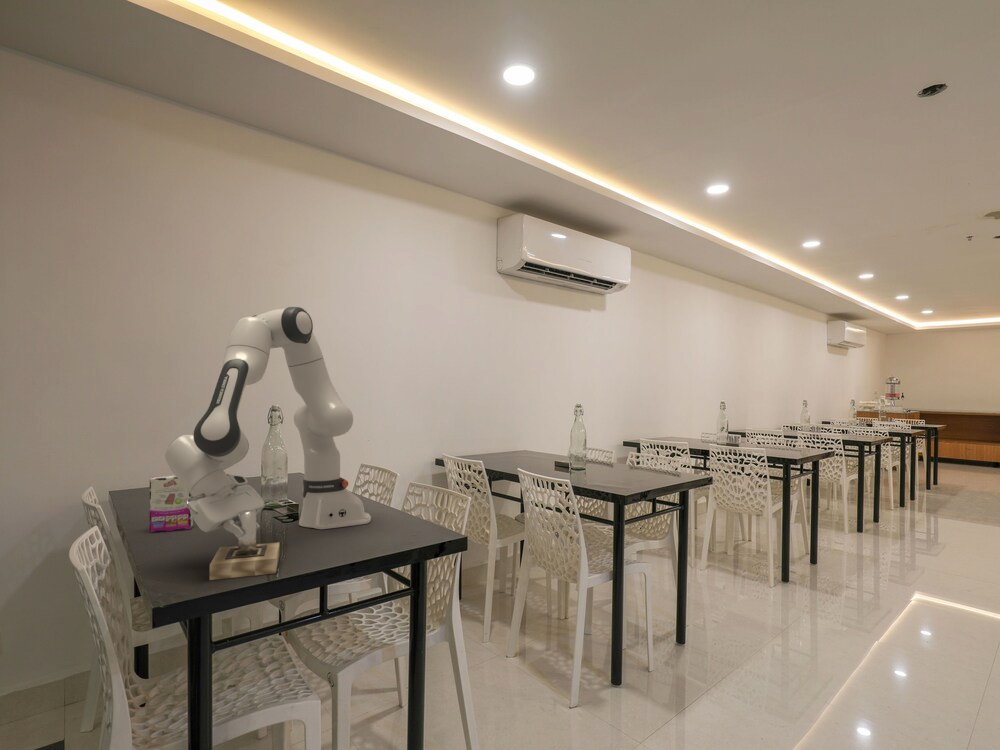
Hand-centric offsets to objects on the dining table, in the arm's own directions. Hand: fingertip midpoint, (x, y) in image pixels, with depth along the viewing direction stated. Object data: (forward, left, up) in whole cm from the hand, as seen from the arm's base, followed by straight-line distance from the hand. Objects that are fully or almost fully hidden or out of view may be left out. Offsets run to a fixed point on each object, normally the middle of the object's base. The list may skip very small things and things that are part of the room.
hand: (249, 532), depth 134 cm
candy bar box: (+27, -46, -9) cm, 54 cm away
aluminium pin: (+1, 0, -7) cm, 7 cm away
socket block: (+1, 0, -8) cm, 8 cm away
